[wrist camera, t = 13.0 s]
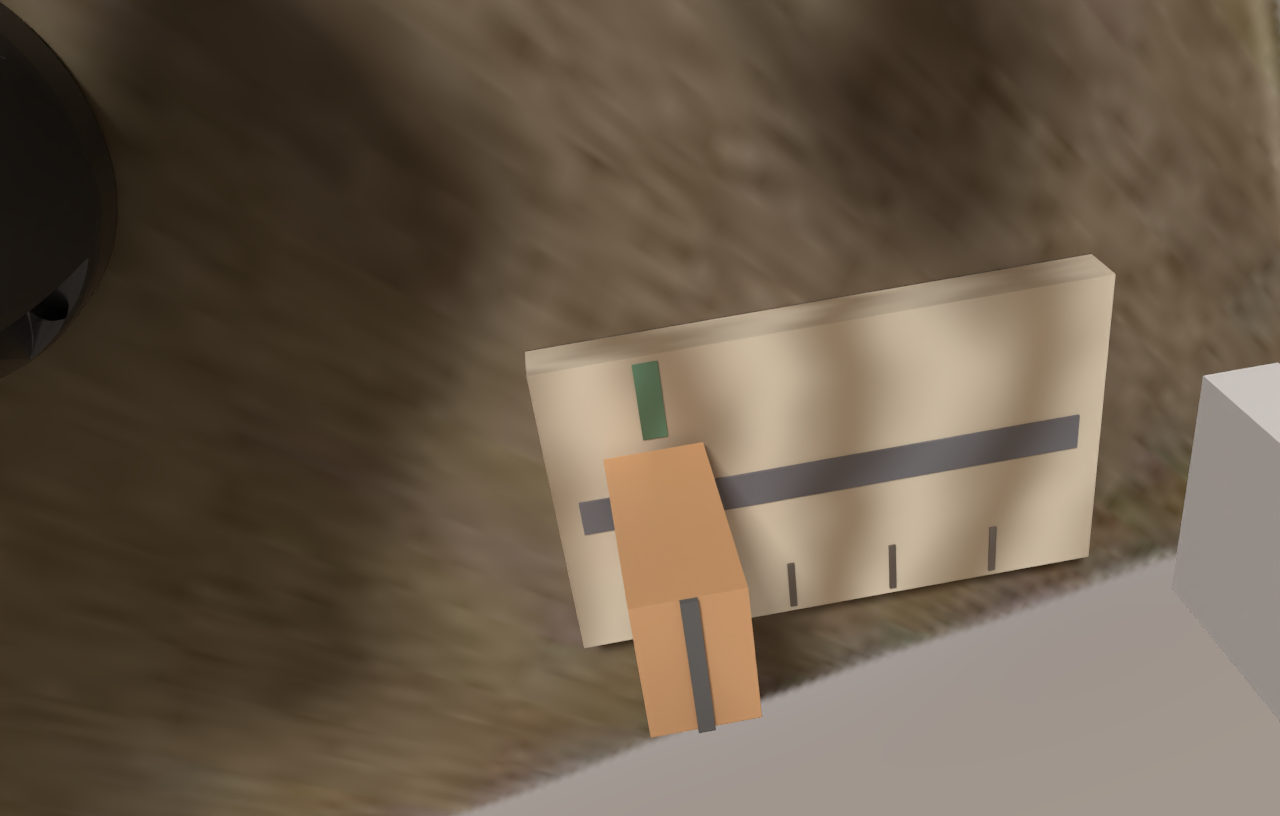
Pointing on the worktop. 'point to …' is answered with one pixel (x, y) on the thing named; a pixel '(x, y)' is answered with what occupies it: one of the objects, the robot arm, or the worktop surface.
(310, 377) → the worktop surface
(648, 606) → the block
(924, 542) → the fader board
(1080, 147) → the worktop surface
